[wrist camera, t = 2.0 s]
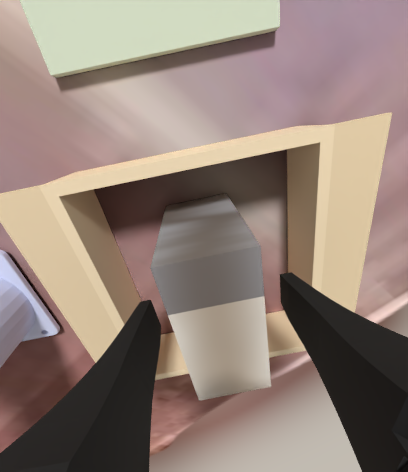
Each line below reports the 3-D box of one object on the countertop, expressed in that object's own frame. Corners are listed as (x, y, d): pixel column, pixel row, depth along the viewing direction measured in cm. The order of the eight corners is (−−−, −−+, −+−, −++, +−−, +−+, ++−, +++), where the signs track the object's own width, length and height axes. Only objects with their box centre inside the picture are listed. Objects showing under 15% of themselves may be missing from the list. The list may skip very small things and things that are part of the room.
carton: (124, 346, 19) (113, 388, 16) (34, 180, 13) (-17, 197, 9) (322, 307, 19) (349, 342, 16) (339, 117, 12) (392, 112, 9)
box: (194, 306, 18) (199, 400, 12) (166, 206, 14) (150, 267, 8) (240, 296, 18) (271, 386, 12) (226, 193, 14) (260, 245, 8)
